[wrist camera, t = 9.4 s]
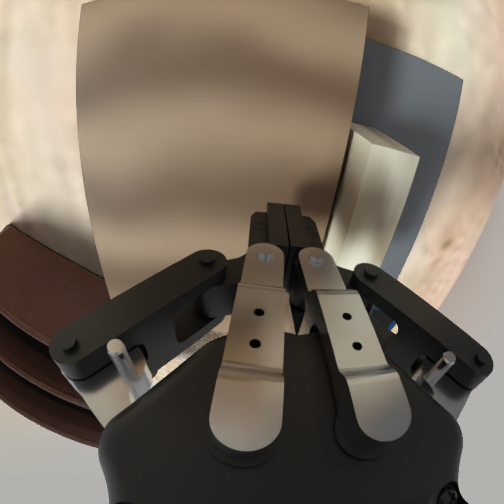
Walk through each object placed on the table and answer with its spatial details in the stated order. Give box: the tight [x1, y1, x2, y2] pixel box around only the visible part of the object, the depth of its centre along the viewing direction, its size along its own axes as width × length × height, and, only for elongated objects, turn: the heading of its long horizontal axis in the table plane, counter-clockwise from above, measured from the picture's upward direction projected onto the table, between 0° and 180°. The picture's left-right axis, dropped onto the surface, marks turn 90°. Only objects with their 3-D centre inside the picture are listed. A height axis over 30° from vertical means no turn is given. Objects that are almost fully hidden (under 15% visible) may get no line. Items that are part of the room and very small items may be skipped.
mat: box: [352, 39, 463, 279], centre depth 18 cm, size 20×9×1 cm, turn 174°
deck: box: [76, 0, 369, 333], centre depth 16 cm, size 22×14×4 cm, turn 174°
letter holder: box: [0, 224, 158, 448], centre depth 20 cm, size 10×20×14 cm, turn 59°
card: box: [322, 122, 420, 271], centre depth 15 cm, size 9×6×2 cm
